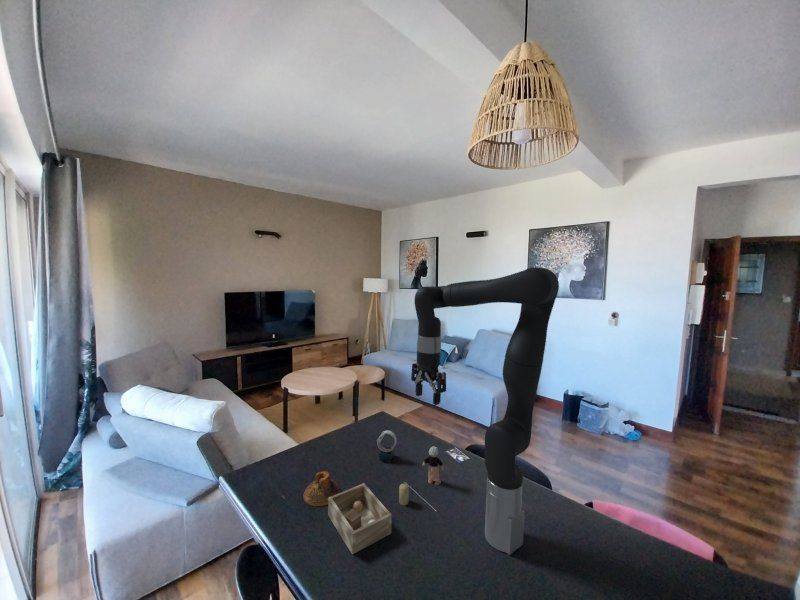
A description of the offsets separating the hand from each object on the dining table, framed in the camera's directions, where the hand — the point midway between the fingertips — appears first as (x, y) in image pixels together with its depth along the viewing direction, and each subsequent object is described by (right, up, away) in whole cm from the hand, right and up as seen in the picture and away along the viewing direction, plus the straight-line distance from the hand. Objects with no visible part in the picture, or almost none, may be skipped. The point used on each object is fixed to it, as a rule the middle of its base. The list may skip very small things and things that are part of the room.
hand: (427, 399), depth 99 cm
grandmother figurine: (+3, -33, +11) cm, 35 cm away
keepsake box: (-21, -33, -10) cm, 40 cm away
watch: (-14, -32, +24) cm, 42 cm away
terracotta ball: (-22, -32, -5) cm, 39 cm away
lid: (-8, -34, 0) cm, 34 cm away
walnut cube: (-22, -33, -11) cm, 41 cm away
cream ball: (-16, -33, -12) cm, 39 cm away
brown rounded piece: (-34, -33, +3) cm, 48 cm away
